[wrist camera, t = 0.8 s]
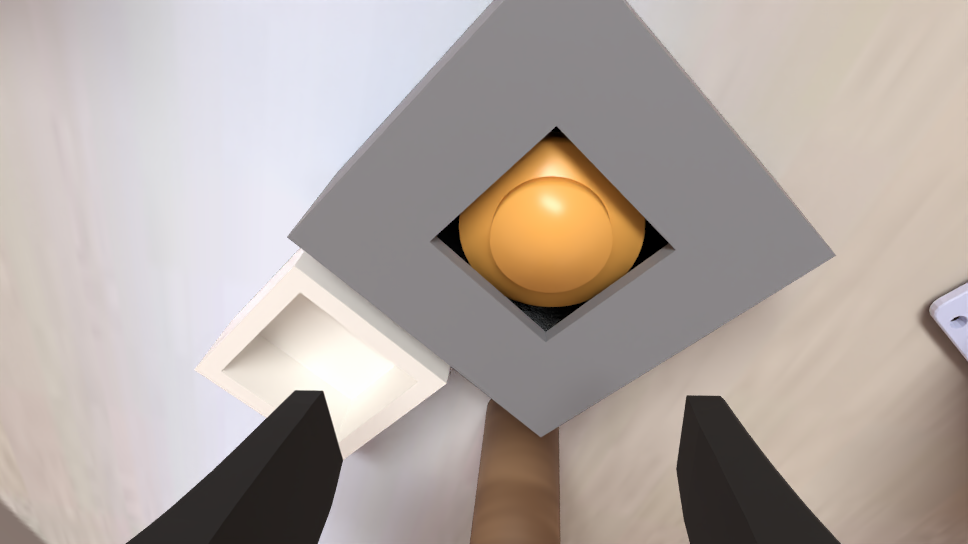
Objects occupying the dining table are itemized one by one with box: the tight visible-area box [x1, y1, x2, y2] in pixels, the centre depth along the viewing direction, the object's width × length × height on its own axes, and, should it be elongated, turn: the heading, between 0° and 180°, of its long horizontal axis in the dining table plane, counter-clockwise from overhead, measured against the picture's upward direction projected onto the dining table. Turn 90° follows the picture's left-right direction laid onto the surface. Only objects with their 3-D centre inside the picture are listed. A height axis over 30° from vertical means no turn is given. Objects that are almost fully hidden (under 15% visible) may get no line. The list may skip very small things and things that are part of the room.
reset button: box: [459, 132, 645, 307], centre depth 16 cm, size 5×5×1 cm
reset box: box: [288, 0, 836, 437], centre depth 17 cm, size 10×10×4 cm
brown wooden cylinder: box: [470, 399, 560, 544], centre depth 21 cm, size 3×3×9 cm
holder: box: [195, 248, 450, 460], centre depth 22 cm, size 6×6×3 cm
